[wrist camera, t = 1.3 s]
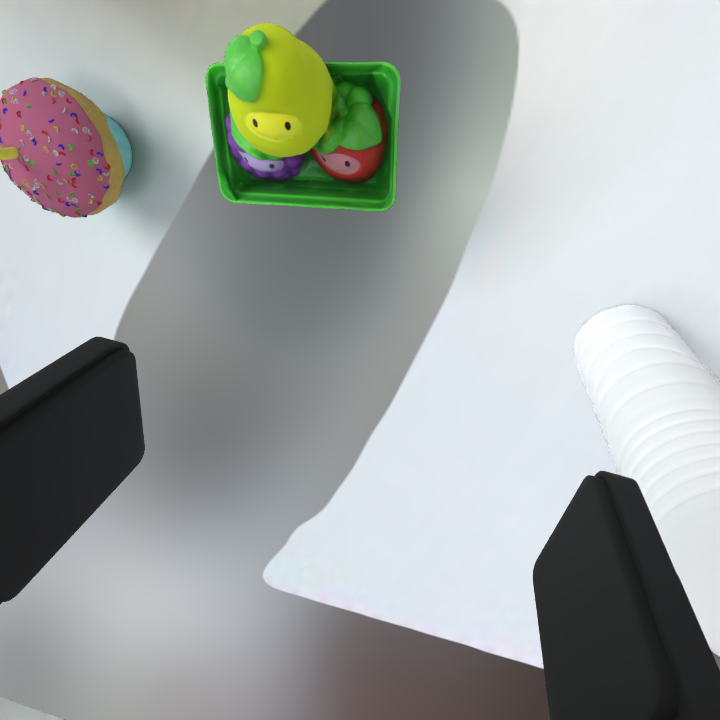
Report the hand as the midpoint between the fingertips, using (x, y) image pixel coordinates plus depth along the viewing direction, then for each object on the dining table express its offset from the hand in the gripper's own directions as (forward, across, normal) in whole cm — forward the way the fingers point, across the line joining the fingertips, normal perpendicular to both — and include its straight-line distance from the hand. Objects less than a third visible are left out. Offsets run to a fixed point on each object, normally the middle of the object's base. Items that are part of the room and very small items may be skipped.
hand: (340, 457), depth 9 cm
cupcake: (+26, +25, +1) cm, 37 cm away
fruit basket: (+26, +8, -4) cm, 28 cm away
